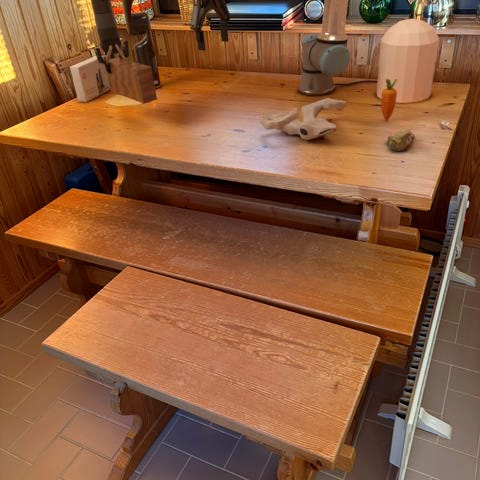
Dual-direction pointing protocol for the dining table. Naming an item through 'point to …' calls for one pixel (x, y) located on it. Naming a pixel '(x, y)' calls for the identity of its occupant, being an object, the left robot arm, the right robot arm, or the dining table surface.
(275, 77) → the dining table surface
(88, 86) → the skincare box
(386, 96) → the carrot
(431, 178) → the dining table surface
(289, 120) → the beige branched piece
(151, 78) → the box
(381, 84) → the container
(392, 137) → the rock
